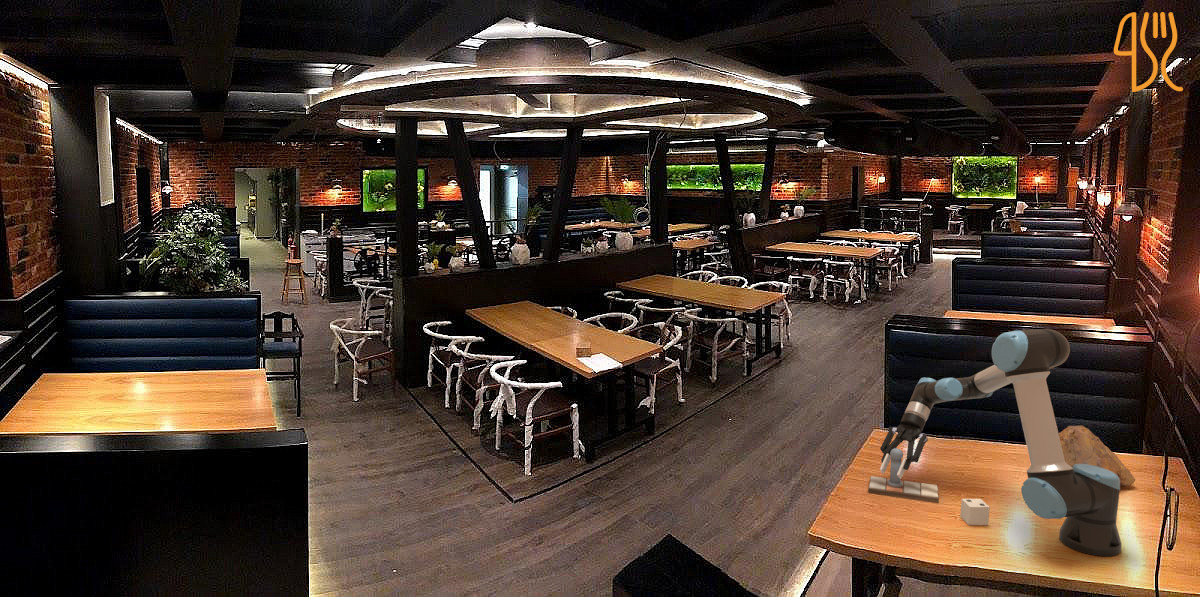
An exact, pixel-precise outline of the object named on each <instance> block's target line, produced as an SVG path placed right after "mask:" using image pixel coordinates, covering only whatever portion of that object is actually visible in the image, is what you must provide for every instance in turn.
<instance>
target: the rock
mask: <svg viewBox="0 0 1200 597" xmlns="http://www.w3.org/2000/svg"><path fill="white" fill-rule="evenodd" d="M1058 434H1059V438H1060V442H1061V447H1062V451H1063V455H1064V459H1065V462H1066V463H1067V464H1068V465H1070V466H1071V467H1073V465H1075V464H1087V465H1092V466H1097V467H1100V468H1104V469H1106V470H1109V471H1111V472H1113V473H1115V474H1116V475H1117V476H1118V477H1119V479H1120V487H1128V486H1132V485H1133V484H1134V483H1135V482H1136V478H1135V477H1134V476H1133V474H1132V473H1131V471H1130V469H1129V468H1127V467H1126V466H1125V465H1124V463H1123V462H1122V461H1121V459H1120V458H1119V457H1118V455H1117V454H1116V453H1115V452H1113V451H1111V449H1110V448H1109V447H1108V446H1106V445H1105V444H1104V443H1103V441H1102V440H1101V439H1100V437H1098V436H1096V435H1095V434H1094V433H1093V432H1092V430H1090V429H1089V428H1087V427H1085V426H1084V425H1068V426H1067V427H1066V428H1064V429H1062V431H1060V432H1058Z"/></svg>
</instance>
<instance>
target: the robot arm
mask: <svg viewBox="0 0 1200 597" xmlns="http://www.w3.org/2000/svg"><path fill="white" fill-rule="evenodd" d="M1070 352H1071V347H1070V343H1069V340H1068V339H1067V338H1066V337H1065V335H1063V334H1062V333H1060V332H1059V331H1057V330H1054V329H1051V328H1040V329H1021V330H1020V329H1019V330H1018V329H1017V330H1012V331H1008V332H1003V333H1001V334H1000V335H998V336H997V337H996V339H995V342H993V344H992V348H991V359H992V362H993V365H991V366H989V367H986V368H985V369H983V370H980V371H979V372H977V373H975V374H973V375H971V376H968V377H959V378H958V377H957V378H955V377H944V378H941V379H938V380H936V379H934V378H931V377H921V378H920V379H919V381H918V382H917V384H916V385H915V388H914V390H913V393H912V395H911V397H910V400H909V403H908V405H907V407H906V408H905V411H904V413H903V415H902V418H901V420H900V423H899V424H898V425H897V427H892V426H889V427H888V430H887V431H888V432H887V434H886V436H885V437H884V440H883V441H882V444H881V446H880V451H881V452H882V458H880V459H881V465H880V467H879V470H880V473H881V474H885V473H886V470H887V468H888V466H889V464H890V463H891V456H890V452H891V450H892V449H894V448H898V446H899V445H900V444H901V443H903V442H907V451H906V456H905V457H904V458H902V462H901V466H900V468H899V471H898V473H897V476H898V477H899V478H900V479H901V480H903V479H902V478H903V476H904V475H905V474H904V473H906V472H905V471H908V470H909V468H910V466H911V463H918V462H919V461H920V457H921V455H922V452H923V450H924V446H925V444H926V443H927V442H928V440H929V438H928V437H927V435H926V434H923V433H922V432H923V430H924V427H925V425H926V422H927V420H928V419H929V416H930V414H931V410H932V409H933V407H934V405H936V404H940V403H945V402H952V401H962V400H973V399H984V398H988V397H991V396H992V395H993V393H995V391H997V390H999V389H1000V388H1003V387H1006V386H1007V385H1010V384H1012V386H1013V389H1014V390H1013V391H1014V393H1015V399H1016V403H1017V408H1018V411H1019V416H1020V421H1021V426H1022V430H1023V433H1024V434H1023V435H1024V439H1025V443H1026V447H1027V452H1028V456H1029V461H1030V466H1029V467H1028V469H1026V474H1027V479H1025V480H1024V482H1023V483H1022V486H1021V495H1022V498H1023V501H1024V503H1025V504H1026V506H1027V507H1028V509H1029V510H1030V511H1031V512H1032V513H1033V514H1035V516H1038V517H1040V518H1041V519H1045V520H1050V519H1052V520H1053V519H1057V520H1061V519H1063V518H1065V519H1064V522H1063V523H1062V525H1061V527H1060V528H1059V535H1058V536H1059V537H1058V539H1059V541H1061V542H1060V543H1062V544H1064V545H1065V546H1067V547H1069V548H1070V549H1071V550H1075V551H1077V552H1080V553H1083V554H1088V555H1092V556H1097V557H1098V556H1099V557H1113V556H1118V555H1119V554H1120V553H1121V552H1122V541H1121V536H1120V533H1119V529H1118V526H1117V519H1118V518H1117V517H1118V509H1119V508H1118V507H1119V501H1120V491H1121V486H1120V479H1119V477H1118V476H1117V475H1116V474H1115V473H1113V472H1111V471H1109V470H1106V469H1104V468H1100V467H1097V466H1092V465H1087V464H1075V465H1073V467H1071V466H1070V465H1068V464H1067V463H1066V462H1065V459H1064V455H1063V451H1062V447H1061V442H1060V438H1059V434H1058V433H1059V430H1058V426H1057V421H1056V416H1055V413H1054V408H1053V405H1052V401H1051V396H1050V392H1049V387H1048V384H1047V378H1048V376H1049V375H1050V374H1051V369H1054V368H1055V367H1058V366H1061V365H1062V364H1064V363H1065V362H1066V361H1067V360H1068V357H1069V355H1070ZM896 433H897V434H896ZM895 434H896V435H895ZM894 436H895V437H894ZM893 438H894V439H893ZM917 439H918V441H917V445H916V447H915V442H916V440H917ZM914 448H915V450H914Z"/></svg>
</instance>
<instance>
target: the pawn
mask: <svg viewBox="0 0 1200 597" xmlns="http://www.w3.org/2000/svg"><path fill="white" fill-rule="evenodd" d="M890 457H891V459H890V473H889V480H888V486H890V487H893V488H901V487H902V484H903V483H902V481H900V480H902V479H900V478H899V477H898V476H897V473H898V471H899V468H900V466H901V464H902V461H903V459H904V458H903V457H904V452H903V451H902V450H901V449H900V448H898V447H896V448H894V449H892V450H891V452H890Z"/></svg>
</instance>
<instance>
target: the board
mask: <svg viewBox="0 0 1200 597" xmlns="http://www.w3.org/2000/svg"><path fill="white" fill-rule="evenodd" d="M869 478H870V479H869V482H868V483H869V484H868V492H869V493H868V494H873V493H874V494H875V495H880V496H881V495H882V496H888V497H893V498H895V497H896V498H901V499H902V498H903V499H908V500H915V501H923V502H930V503H937V504H939V502H940V501H939V499H940V498H939V486H938V484H932V483H925V482H919V481H910V480H903V479H901V480H900V481H902V483H903V484H902V487H901V488H893V487H890V486H888V480H889V479H890V477H881V476H876V475H875V476H874V475H870V477H869Z"/></svg>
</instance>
